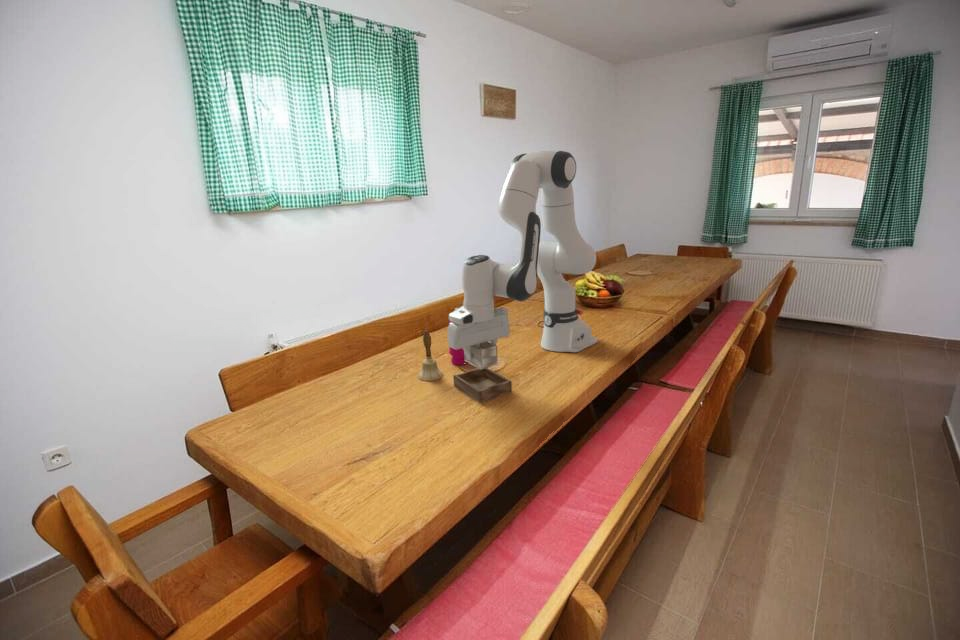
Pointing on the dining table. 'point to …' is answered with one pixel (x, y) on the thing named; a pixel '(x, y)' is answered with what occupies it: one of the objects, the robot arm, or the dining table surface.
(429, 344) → the hand bell
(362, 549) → the dining table surface
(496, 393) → the big crate
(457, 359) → the pepper mill
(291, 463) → the dining table surface
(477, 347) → the small crate
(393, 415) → the dining table surface
